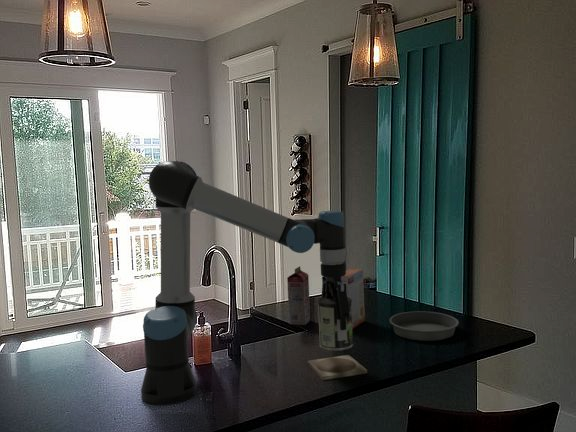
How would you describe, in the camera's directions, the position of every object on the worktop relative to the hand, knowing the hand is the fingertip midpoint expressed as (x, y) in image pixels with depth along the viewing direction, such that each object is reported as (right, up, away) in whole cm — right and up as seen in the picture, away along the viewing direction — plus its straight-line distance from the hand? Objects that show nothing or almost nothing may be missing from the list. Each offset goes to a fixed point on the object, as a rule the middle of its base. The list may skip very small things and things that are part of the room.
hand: (335, 334), depth 166 cm
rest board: (0, -10, +1) cm, 10 cm away
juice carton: (-10, -6, +52) cm, 53 cm away
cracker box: (+10, -6, +45) cm, 47 cm away
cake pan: (+35, -7, +34) cm, 49 cm away
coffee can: (0, -3, 0) cm, 3 cm away
